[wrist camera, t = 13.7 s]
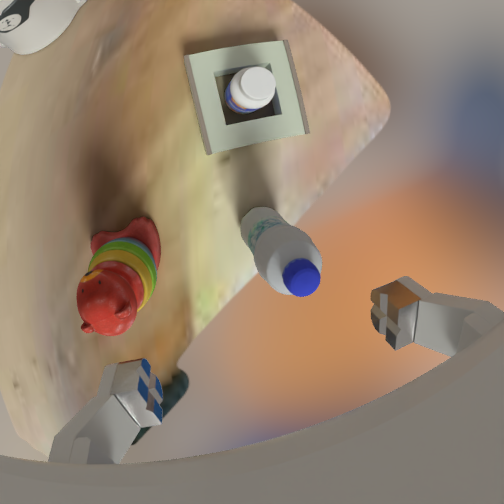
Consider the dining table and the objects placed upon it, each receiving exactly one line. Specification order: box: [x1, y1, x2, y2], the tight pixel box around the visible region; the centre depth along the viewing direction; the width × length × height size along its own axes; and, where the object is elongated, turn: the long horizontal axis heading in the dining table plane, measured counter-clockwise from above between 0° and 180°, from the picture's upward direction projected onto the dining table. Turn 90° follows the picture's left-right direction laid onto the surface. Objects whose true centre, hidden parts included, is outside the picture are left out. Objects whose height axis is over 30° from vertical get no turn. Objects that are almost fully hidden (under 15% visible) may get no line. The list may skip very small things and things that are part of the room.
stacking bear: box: [77, 217, 161, 336], centre depth 34 cm, size 11×10×18 cm
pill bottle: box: [224, 67, 276, 114], centre depth 33 cm, size 5×5×10 cm
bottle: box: [241, 207, 322, 297], centre depth 35 cm, size 7×7×20 cm
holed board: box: [184, 40, 310, 155], centre depth 35 cm, size 14×14×4 cm
